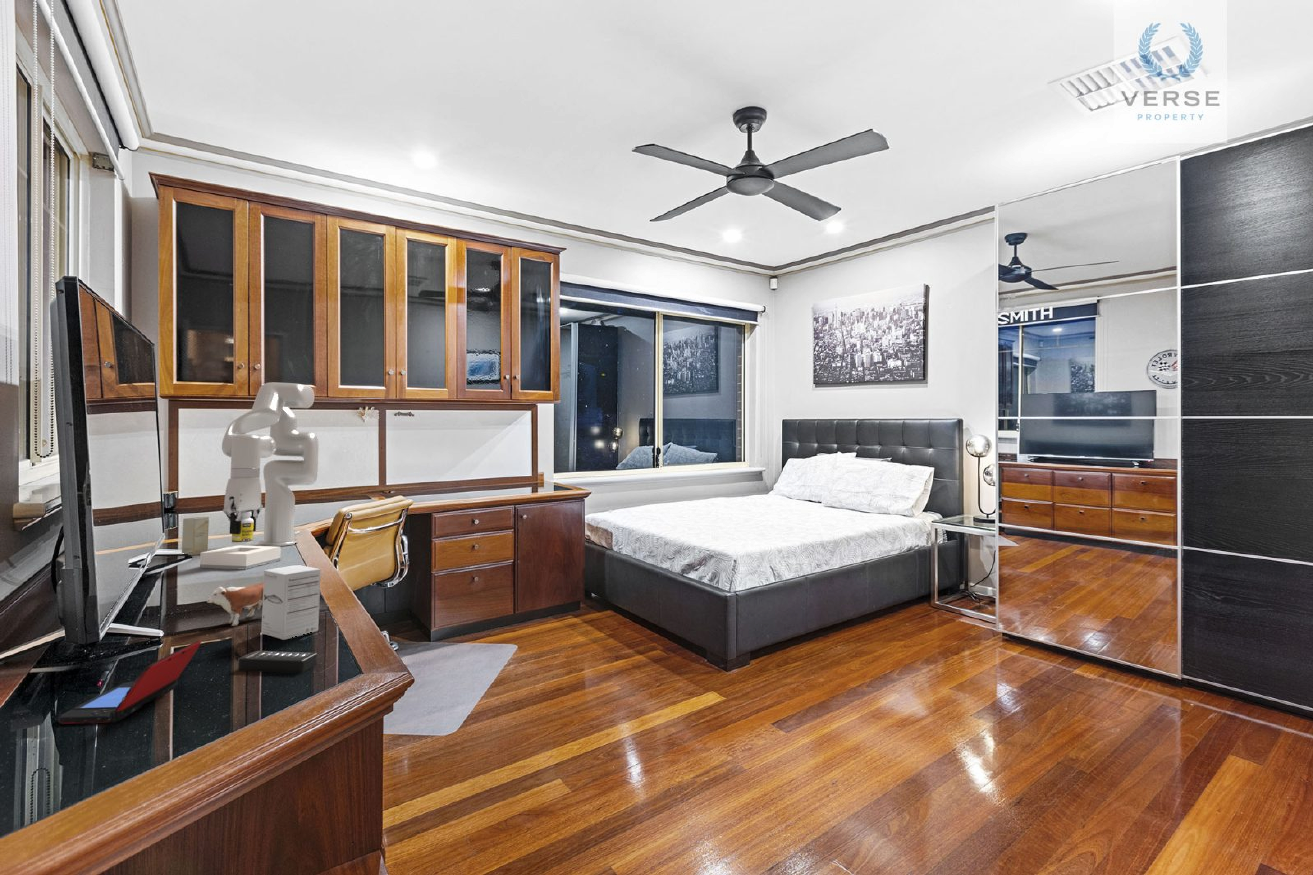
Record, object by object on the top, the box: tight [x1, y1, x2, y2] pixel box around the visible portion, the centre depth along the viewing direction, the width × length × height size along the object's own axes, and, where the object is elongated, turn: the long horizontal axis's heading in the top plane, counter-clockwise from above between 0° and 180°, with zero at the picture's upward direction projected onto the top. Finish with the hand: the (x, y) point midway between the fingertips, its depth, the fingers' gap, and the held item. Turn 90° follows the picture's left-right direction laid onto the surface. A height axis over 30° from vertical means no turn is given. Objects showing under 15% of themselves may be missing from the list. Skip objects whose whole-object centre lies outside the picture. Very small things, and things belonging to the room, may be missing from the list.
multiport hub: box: [237, 649, 318, 674], centre depth 100 cm, size 4×11×2 cm, turn 88°
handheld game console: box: [57, 640, 202, 725], centre depth 85 cm, size 12×11×7 cm
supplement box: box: [260, 564, 322, 641], centre depth 119 cm, size 7×7×13 cm
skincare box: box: [181, 516, 210, 556], centre depth 202 cm, size 6×4×12 cm
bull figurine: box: [206, 581, 264, 627], centre depth 126 cm, size 4×13×8 cm, turn 163°
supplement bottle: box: [231, 511, 254, 545], centre depth 186 cm, size 5×5×10 cm
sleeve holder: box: [199, 544, 282, 570], centre depth 186 cm, size 15×15×4 cm
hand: (242, 532), depth 186 cm, fingers closed on supplement bottle, 5 cm apart
